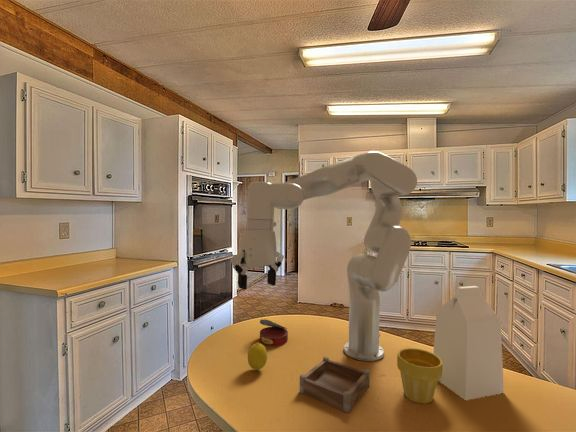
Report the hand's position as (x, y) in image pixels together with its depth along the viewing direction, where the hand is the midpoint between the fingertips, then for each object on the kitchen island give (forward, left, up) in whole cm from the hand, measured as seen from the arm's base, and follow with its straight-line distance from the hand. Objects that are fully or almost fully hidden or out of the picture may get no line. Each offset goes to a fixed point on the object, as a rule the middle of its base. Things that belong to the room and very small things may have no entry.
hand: (257, 286), depth 88 cm
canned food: (-19, -9, -25) cm, 32 cm away
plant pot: (-15, +40, -24) cm, 49 cm away
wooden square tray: (-5, +22, -24) cm, 33 cm away
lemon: (0, 0, -24) cm, 24 cm away
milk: (-28, +49, -24) cm, 62 cm away
